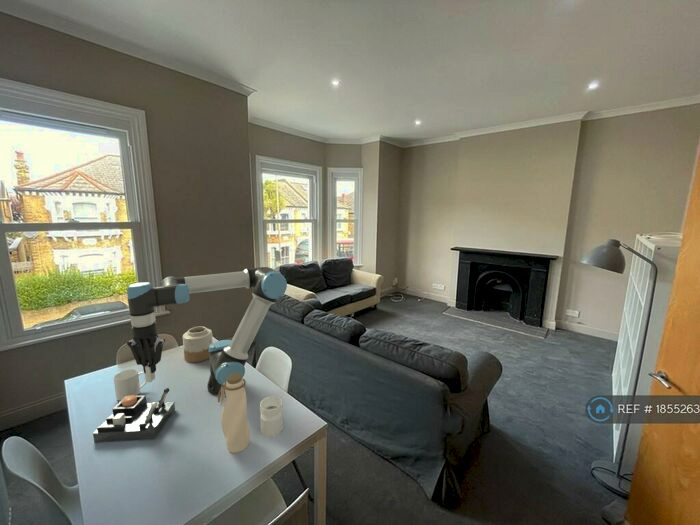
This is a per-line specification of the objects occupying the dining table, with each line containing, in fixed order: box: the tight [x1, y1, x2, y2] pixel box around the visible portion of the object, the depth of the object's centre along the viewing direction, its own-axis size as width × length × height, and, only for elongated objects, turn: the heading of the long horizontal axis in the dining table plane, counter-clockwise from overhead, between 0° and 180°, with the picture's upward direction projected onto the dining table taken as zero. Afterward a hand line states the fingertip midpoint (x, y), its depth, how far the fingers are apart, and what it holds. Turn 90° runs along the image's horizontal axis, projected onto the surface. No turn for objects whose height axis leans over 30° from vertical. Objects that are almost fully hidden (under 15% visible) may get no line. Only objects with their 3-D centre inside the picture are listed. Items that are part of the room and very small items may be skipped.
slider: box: [113, 413, 125, 425], centre depth 109 cm, size 2×3×4 cm
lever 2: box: [157, 387, 170, 408], centre depth 119 cm, size 2×3×8 cm
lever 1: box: [144, 401, 158, 424], centre depth 110 cm, size 2×3×8 cm
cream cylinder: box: [259, 395, 284, 438], centre depth 114 cm, size 9×9×12 cm
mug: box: [113, 368, 148, 402], centre depth 133 cm, size 12×9×11 cm
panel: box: [92, 394, 176, 444], centre depth 115 cm, size 21×16×8 cm
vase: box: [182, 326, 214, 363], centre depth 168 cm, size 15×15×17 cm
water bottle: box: [217, 373, 251, 454], centre depth 104 cm, size 10×9×28 cm
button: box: [122, 395, 138, 407], centre depth 118 cm, size 5×5×4 cm
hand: (151, 379), depth 112 cm, fingers closed
